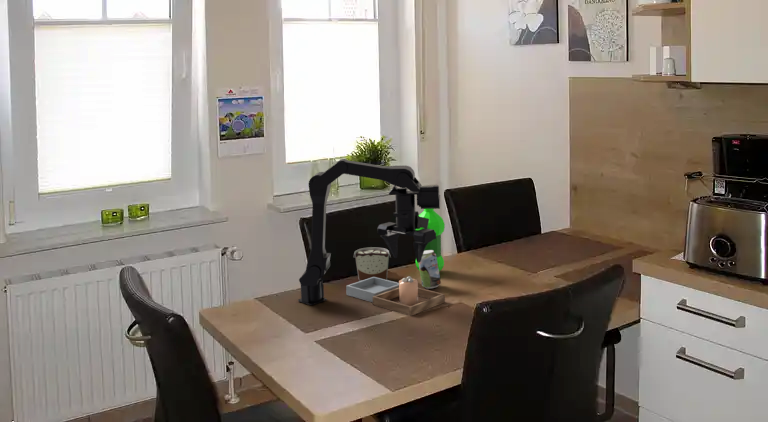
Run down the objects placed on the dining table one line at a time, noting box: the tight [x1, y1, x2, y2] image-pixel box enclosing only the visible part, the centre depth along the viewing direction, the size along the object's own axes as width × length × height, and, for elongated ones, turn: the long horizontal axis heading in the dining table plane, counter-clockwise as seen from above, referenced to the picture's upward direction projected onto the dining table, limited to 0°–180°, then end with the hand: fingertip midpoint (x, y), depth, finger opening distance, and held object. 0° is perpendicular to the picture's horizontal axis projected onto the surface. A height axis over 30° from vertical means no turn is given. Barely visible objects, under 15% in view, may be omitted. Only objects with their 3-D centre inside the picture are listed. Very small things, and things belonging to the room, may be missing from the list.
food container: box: [353, 246, 392, 282], centre depth 266 cm, size 12×6×10 cm, turn 84°
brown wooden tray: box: [372, 287, 446, 316], centre depth 240 cm, size 15×15×2 cm
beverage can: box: [418, 250, 442, 290], centre depth 254 cm, size 6×7×12 cm
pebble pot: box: [398, 276, 419, 306], centre depth 240 cm, size 6×6×8 cm
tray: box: [345, 277, 399, 303], centre depth 250 cm, size 12×12×3 cm
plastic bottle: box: [415, 209, 446, 272], centre depth 268 cm, size 10×10×25 cm
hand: (407, 259), depth 239 cm, fingers open, 9 cm apart
